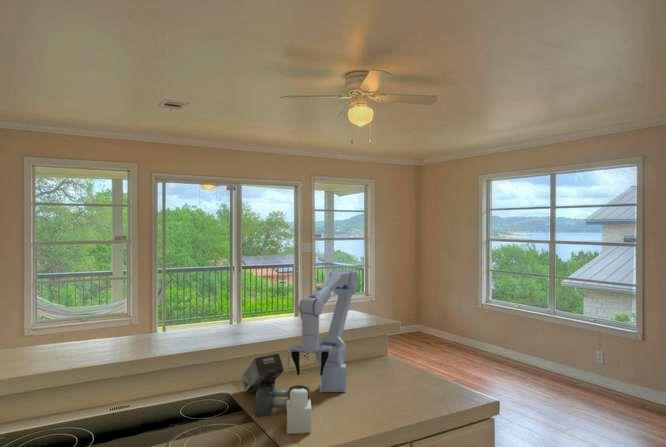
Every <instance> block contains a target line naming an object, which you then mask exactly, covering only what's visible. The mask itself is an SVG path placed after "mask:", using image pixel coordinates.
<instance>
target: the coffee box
mask: <svg viewBox="0 0 666 447" xmlns="http://www.w3.org/2000/svg"><path fill="white" fill-rule="evenodd" d="M284 371H285V370H284V366H283V363H282V359H281V357H280V353H275V354H268V355H265V356H259V357H255V358H254V360H253V361H252V362H251V363H250V364H249V366H248V367H247V369H246V370H245V371H244V372H243V373H242V374H241V376H240V378H241V381H242V382H241V384H242V387H243V391H244V393H245V394H246V393H250V392H255V391H256V392H257V390H258V388H259V385H260V382H261V381H276V379H278V378H279V376H280V375H281V374H282V373H283V372H284Z"/></svg>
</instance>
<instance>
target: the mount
mask: <svg viewBox="0 0 666 447" xmlns="http://www.w3.org/2000/svg"><path fill="white" fill-rule="evenodd" d="M276 384H277V383H276V380H274V381H261V382H260V385H259V388H258V390H256V394H255V396H254V417H255V418H256V417H260V418H261V417H272V414H273V410H274V407H275V406H272V399H277V397H274V391H277V390H276Z"/></svg>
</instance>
